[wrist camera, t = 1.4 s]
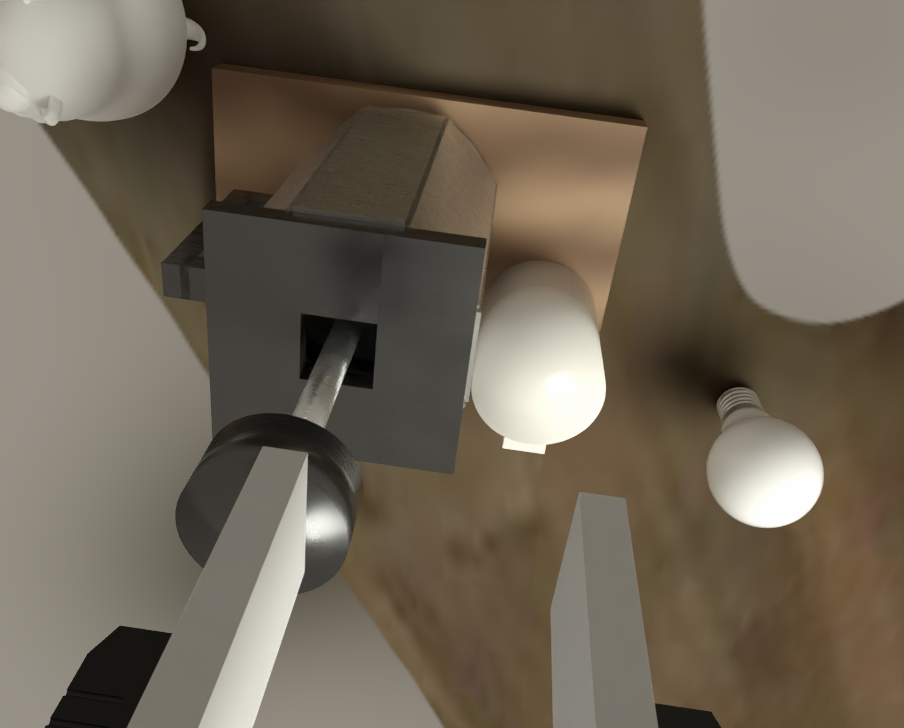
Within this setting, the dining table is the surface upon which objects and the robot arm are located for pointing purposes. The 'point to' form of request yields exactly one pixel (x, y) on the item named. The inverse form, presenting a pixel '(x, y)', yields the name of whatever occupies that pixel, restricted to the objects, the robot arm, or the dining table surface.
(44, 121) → the figurine
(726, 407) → the lightbulb
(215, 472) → the plunger
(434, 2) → the dining table surface
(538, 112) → the board
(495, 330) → the mug
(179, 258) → the carafe
